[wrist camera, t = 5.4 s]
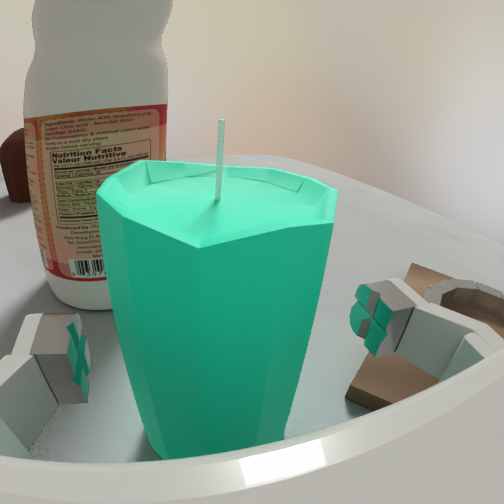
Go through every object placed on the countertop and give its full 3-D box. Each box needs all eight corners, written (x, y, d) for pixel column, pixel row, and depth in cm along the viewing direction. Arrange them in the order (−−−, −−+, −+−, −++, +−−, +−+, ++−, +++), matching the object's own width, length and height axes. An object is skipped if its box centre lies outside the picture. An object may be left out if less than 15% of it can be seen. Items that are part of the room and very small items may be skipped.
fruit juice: (28, 285, 20) (32, -81, 7) (107, 239, 28) (119, -59, 15) (110, 334, 17) (132, -146, 4) (193, 265, 25) (216, -90, 12)
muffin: (43, 179, 46) (40, 122, 42) (85, 184, 44) (82, 119, 39) (-11, 202, 36) (-18, 137, 31) (26, 210, 33) (17, 132, 29)
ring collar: (544, 418, 10) (560, 399, 9) (398, 364, 15) (409, 341, 14) (531, 324, 18) (539, 307, 17) (426, 282, 23) (432, 265, 22)
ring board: (552, 470, 8) (564, 460, 7) (344, 397, 14) (350, 384, 14) (536, 322, 19) (541, 313, 19) (408, 272, 26) (412, 262, 26)
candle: (119, 431, 12) (48, 128, 6) (201, 359, 16) (203, 111, 11) (236, 510, 9) (281, 149, 4) (306, 410, 14) (373, 134, 8)
